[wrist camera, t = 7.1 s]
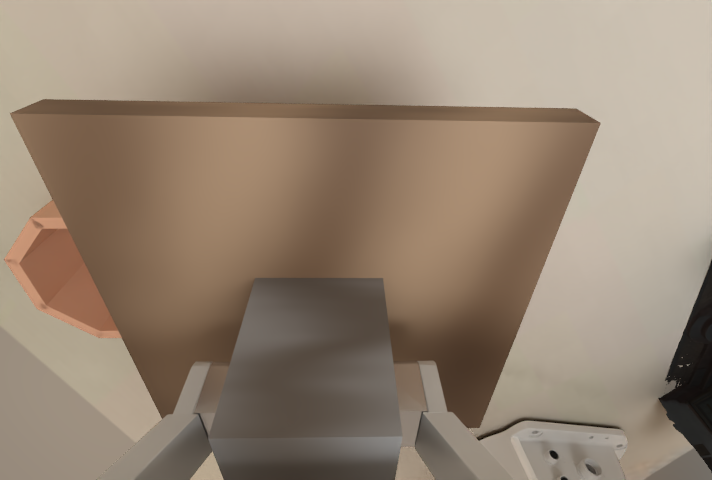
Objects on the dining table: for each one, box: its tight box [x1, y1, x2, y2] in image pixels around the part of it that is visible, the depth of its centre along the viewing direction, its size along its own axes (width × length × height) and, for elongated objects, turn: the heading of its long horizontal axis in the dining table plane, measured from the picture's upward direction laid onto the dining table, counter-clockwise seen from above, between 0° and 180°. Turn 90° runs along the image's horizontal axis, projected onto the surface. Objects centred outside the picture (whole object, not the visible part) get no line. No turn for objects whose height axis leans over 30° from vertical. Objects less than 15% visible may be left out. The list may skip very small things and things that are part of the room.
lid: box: [10, 99, 600, 480], centre depth 11 cm, size 14×14×6 cm
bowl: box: [4, 200, 122, 338], centre depth 29 cm, size 11×11×6 cm
